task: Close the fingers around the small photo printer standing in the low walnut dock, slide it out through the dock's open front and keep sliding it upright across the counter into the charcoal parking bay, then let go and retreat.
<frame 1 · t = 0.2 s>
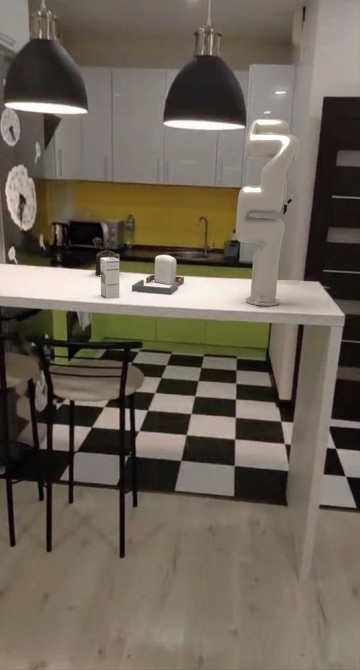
hand: (273, 213, 226), 31 cm above the breakfast bar, tool pointing down, fingers open, 9 cm apart
dock: (164, 283, 224), on the breakfast bar
bay: (155, 289, 209), on the breakfast bar
syrup box: (110, 296, 193), on the breakfast bar
photo printer: (164, 283, 224), on the breakfast bar
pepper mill: (106, 276, 237), on the breakfast bar
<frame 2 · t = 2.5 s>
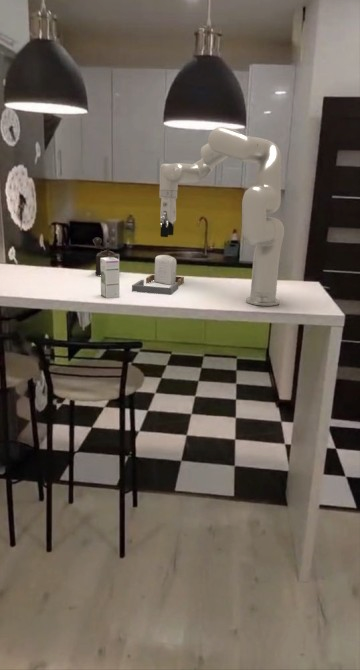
hand: (167, 235, 218), 21 cm above the breakfast bar, tool pointing down, fingers open, 9 cm apart
nothing on the breakfast bar moved.
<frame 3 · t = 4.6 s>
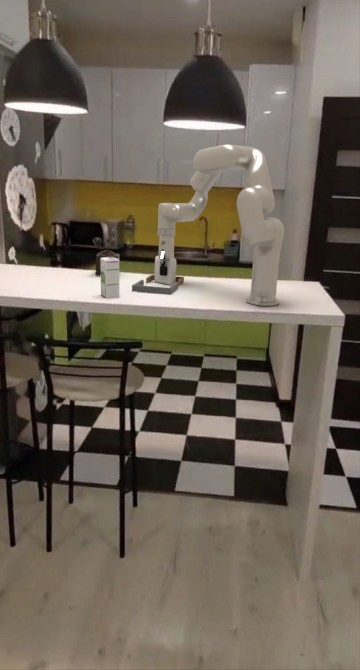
hand: (165, 273, 223), 4 cm above the breakfast bar, tool pointing down, fingers closed on photo printer, 5 cm apart
photo printer: (164, 283, 224), on the breakfast bar, touching gripper
everything else where it was.
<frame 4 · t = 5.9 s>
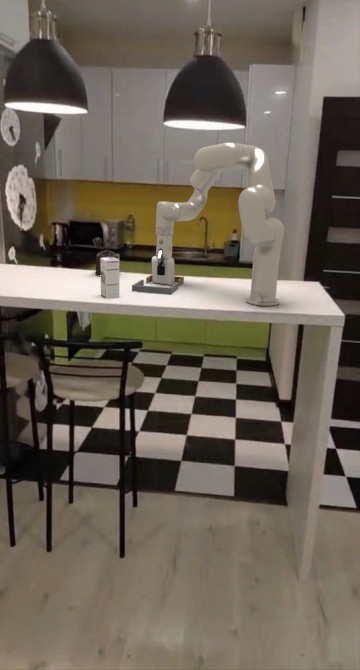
hand: (162, 273, 220), 5 cm above the breakfast bar, tool pointing down, fingers closed on photo printer, 5 cm apart
photo printer: (163, 283, 222), on the breakfast bar, touching gripper
everything else where it was.
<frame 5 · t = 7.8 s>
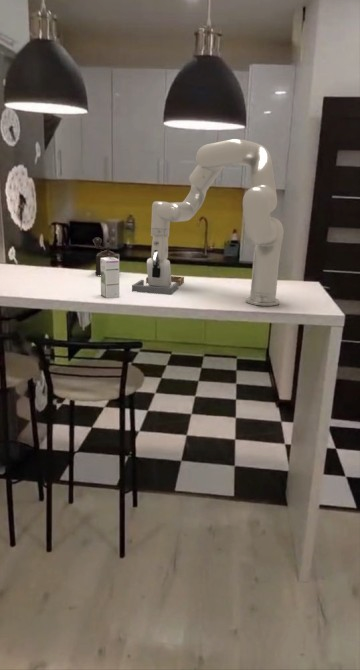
hand: (158, 275, 213), 5 cm above the breakfast bar, tool pointing down, fingers closed on photo printer, 5 cm apart
photo printer: (160, 285, 216), on the breakfast bar, touching gripper
everything else where it was.
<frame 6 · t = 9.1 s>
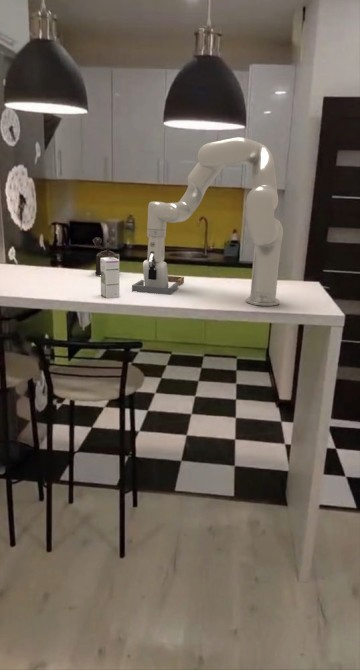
hand: (154, 277, 208), 5 cm above the breakfast bar, tool pointing down, fingers closed on photo printer, 5 cm apart
photo printer: (156, 287, 211), on the breakfast bar, touching gripper
everything else where it was.
when the fingers open (5 cm above the breakfast bar, at t = 10.3 s): photo printer stays where it is, on the breakfast bar.
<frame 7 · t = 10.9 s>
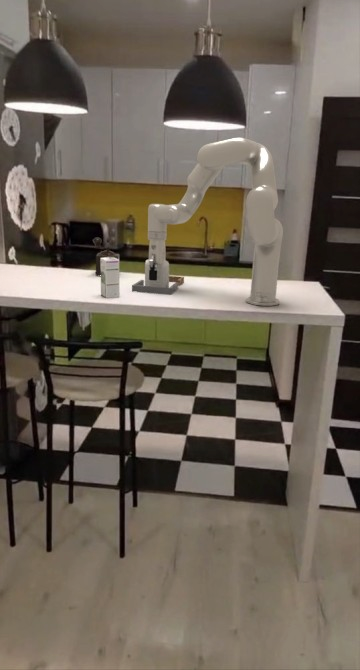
hand: (156, 278, 207), 5 cm above the breakfast bar, tool pointing down, fingers open, 9 cm apart
photo printer: (157, 288, 211), on the breakfast bar, touching gripper
everything else where it was.
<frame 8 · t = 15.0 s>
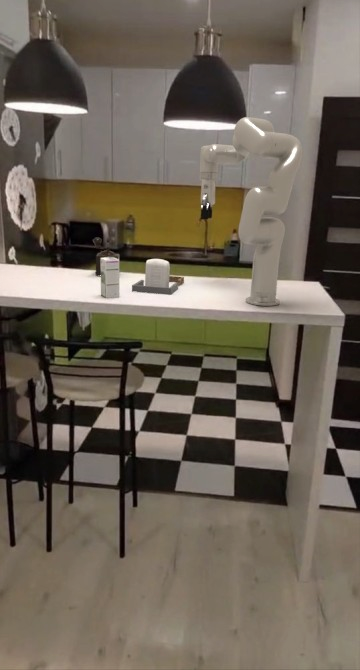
hand: (206, 218, 218), 28 cm above the breakfast bar, tool pointing down, fingers open, 9 cm apart
photo printer: (156, 289, 211), on the breakfast bar
everything else where it was.
at the end: photo printer inside the target area on the bay (2.2 cm from its centre), point 0.0 cm above the bay's base; photo printer tilted 0°; the gripper is holding nothing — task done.
